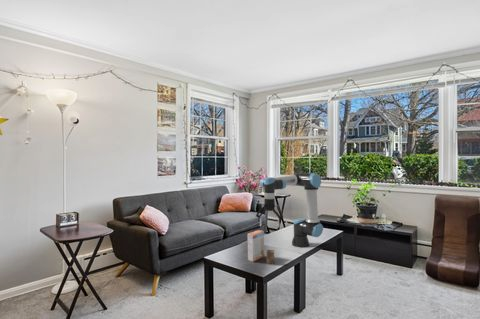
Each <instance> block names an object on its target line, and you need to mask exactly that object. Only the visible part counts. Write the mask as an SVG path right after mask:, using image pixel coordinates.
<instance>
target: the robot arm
mask: <svg viewBox="0 0 480 319" xmlns="http://www.w3.org/2000/svg"><path fill="white" fill-rule="evenodd" d="M321 184H322V179H321V176H320V175H319V174H318V173H315V172H313V173H311V172H307V173H306V172H300V173H299V172H298V173H293V174H290V175H287V176H278V177H271V176H269V177H263V178H261V179H260V181H259V185H260V187H262V188H263V189H264V190H263V191H264V193H263V194H264V195H263V196H264V200H263V201H264V202H263V203H264V204H262V203H261V204H260V205H259V209H258V211H257V213H256V215H255V217H257V218H258V219H257V220H258V223H259V227H262V215H263V214H264V213H265V212H266V211H267V212H269V211H270V212H273V213H274V214H275V215H276V217H278V218H277V228H280V223H282V219H283V218H284V215H283V213H282V210H281V209H280V205H279V204H277V205H276V204H275V191H276V190H277V191H278V190H284V189H285V188H286V187H287V186H290V185H291V186H300V187H304V189H303V190H304V191H305V192H306V213H307V215H306V216H307V217H306V218H295V219H294V220H293V237H292V241H291V245H292V246H294V247H296V248H306V247H309V246H310V242H309V238H308V236H309V237H312V238H319V237H320V236H321V235H322V234H323V232H324V225H323V224H322V223H321V221H320V219H319V216H318V193H317V192H318V191H319V188H320V187H321ZM262 208H264V209H263V210H262ZM275 208H276V209H275ZM261 210H262V211H261Z"/></svg>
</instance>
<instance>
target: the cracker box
mask: <svg viewBox="0 0 480 319" xmlns="http://www.w3.org/2000/svg"><path fill="white" fill-rule="evenodd" d="M264 258H265V231H264V230H260V229H257V230H255V231H252V232H248V233H247V261H249V262H253V263H254V262H257V261H259V260H261V259H264Z"/></svg>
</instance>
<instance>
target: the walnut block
mask: <svg viewBox="0 0 480 319" xmlns="http://www.w3.org/2000/svg"><path fill="white" fill-rule="evenodd" d="M274 263H275V249H267V250H266V265H275V264H274Z"/></svg>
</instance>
